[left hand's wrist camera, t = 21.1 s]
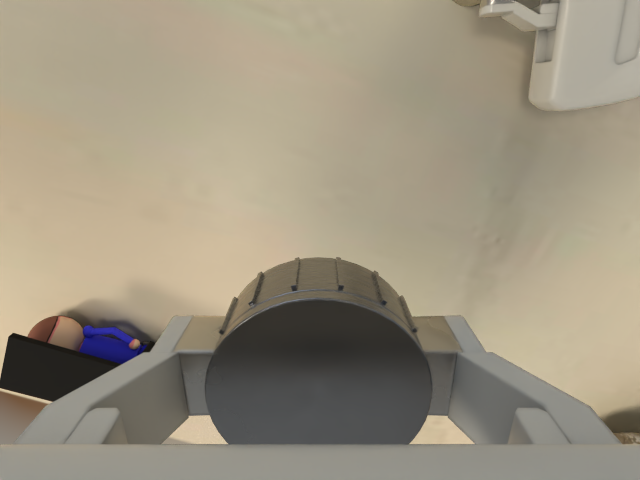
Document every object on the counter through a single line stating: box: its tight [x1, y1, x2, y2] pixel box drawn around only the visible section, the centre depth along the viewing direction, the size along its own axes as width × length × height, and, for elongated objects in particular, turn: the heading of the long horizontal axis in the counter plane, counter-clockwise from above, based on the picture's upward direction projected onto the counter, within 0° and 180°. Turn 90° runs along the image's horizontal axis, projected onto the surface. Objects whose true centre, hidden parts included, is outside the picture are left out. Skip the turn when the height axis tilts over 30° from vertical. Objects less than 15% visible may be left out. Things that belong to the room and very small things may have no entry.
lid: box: [205, 257, 433, 444], centre depth 9 cm, size 5×5×2 cm
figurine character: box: [0, 316, 156, 402], centre depth 40 cm, size 7×8×15 cm
